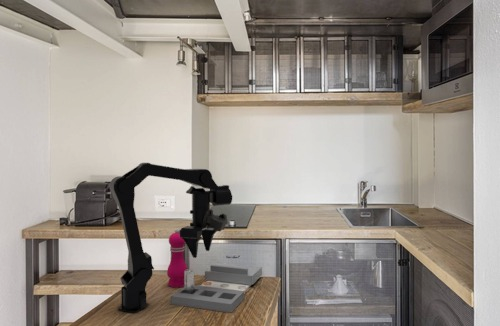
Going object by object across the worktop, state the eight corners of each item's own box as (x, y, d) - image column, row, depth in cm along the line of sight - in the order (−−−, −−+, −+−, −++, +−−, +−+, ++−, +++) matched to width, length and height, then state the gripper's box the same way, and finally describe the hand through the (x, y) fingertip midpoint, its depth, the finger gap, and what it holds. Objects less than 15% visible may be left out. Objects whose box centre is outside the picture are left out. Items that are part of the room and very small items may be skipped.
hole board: (170, 304, 110) (170, 295, 110) (188, 291, 120) (188, 284, 120) (231, 312, 103) (231, 304, 103) (244, 298, 114) (244, 291, 114)
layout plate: (197, 289, 122) (197, 286, 122) (209, 280, 131) (209, 278, 131) (241, 294, 117) (241, 292, 117) (250, 285, 126) (250, 283, 126)
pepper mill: (191, 282, 130) (191, 226, 130) (182, 289, 123) (182, 230, 123) (173, 280, 132) (172, 226, 132) (163, 287, 125) (163, 229, 125)
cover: (204, 279, 130) (204, 265, 130) (217, 270, 141) (217, 257, 141) (252, 285, 124) (252, 270, 124) (262, 275, 135) (262, 261, 135)
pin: (182, 300, 113) (182, 271, 113) (187, 296, 116) (187, 268, 116) (191, 301, 112) (191, 272, 112) (195, 297, 115) (195, 269, 115)
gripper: (211, 211, 107) (211, 264, 107) (234, 204, 125) (234, 249, 125) (178, 210, 111) (178, 260, 111) (205, 203, 128) (205, 247, 128)
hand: (201, 254), depth 118 cm, fingers open, 9 cm apart
